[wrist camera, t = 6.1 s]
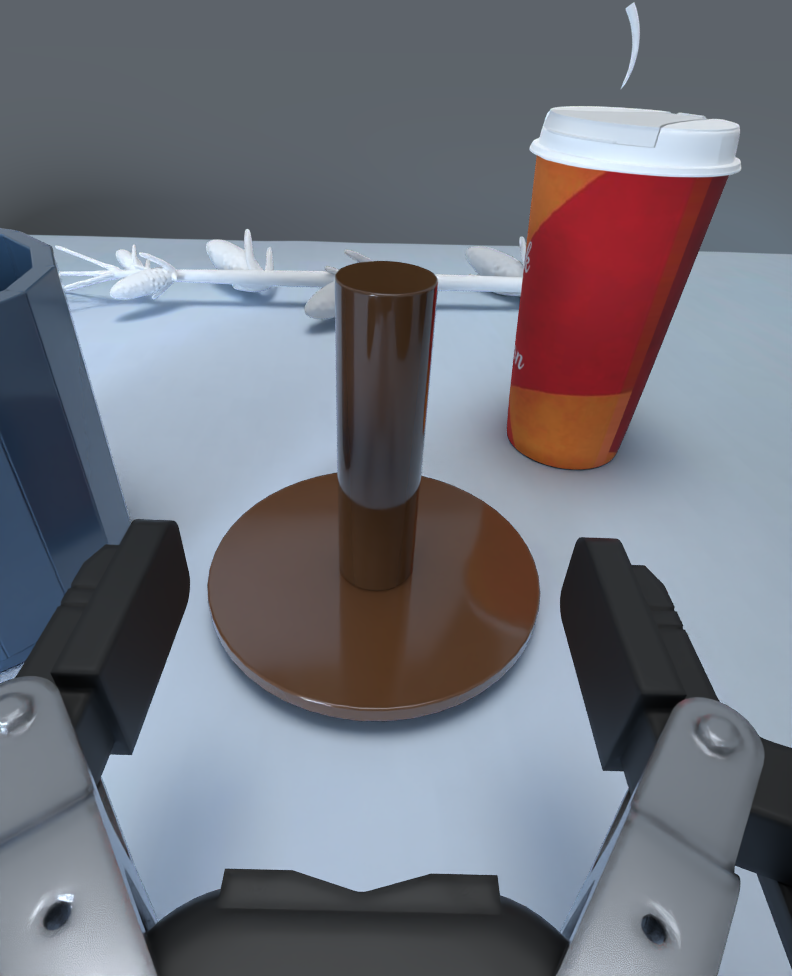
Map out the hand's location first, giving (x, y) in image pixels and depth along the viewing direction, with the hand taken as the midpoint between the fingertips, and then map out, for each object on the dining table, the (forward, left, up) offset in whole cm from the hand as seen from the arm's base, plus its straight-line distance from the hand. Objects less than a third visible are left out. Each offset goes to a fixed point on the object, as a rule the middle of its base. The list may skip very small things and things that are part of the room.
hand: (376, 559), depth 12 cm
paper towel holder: (-5, -4, -7) cm, 9 cm away
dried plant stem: (-23, -26, -8) cm, 36 cm away
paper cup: (-19, -4, -8) cm, 21 cm away
